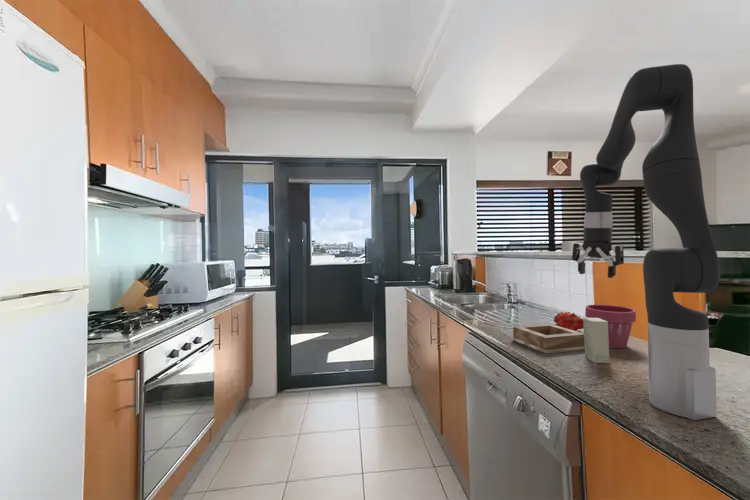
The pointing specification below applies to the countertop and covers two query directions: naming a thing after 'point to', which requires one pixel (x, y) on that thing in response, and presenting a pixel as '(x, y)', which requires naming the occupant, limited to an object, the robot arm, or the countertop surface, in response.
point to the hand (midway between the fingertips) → (595, 275)
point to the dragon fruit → (569, 321)
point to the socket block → (549, 338)
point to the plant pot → (614, 322)
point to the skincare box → (596, 340)
